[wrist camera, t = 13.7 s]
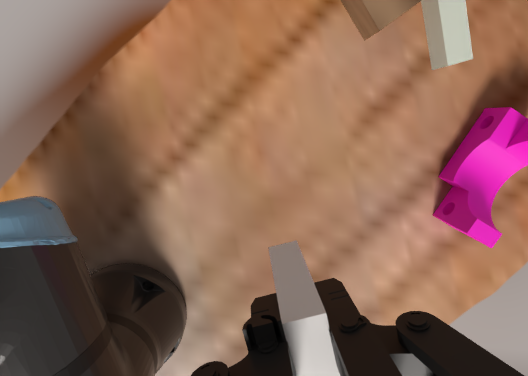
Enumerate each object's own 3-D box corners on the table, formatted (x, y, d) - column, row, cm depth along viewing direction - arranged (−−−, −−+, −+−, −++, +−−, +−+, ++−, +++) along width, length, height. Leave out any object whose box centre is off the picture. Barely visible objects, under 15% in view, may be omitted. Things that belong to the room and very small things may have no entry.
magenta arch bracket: (484, 108, 43) (532, 106, 36) (520, 132, 44) (575, 136, 37) (417, 205, 45) (450, 223, 38) (452, 227, 46) (491, 248, 39)
